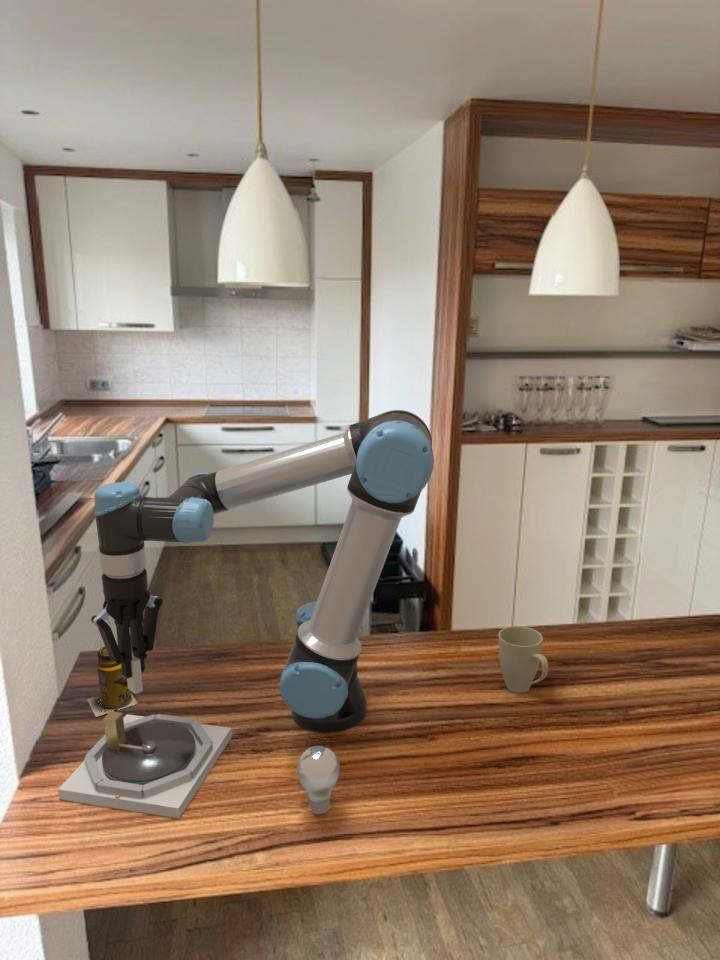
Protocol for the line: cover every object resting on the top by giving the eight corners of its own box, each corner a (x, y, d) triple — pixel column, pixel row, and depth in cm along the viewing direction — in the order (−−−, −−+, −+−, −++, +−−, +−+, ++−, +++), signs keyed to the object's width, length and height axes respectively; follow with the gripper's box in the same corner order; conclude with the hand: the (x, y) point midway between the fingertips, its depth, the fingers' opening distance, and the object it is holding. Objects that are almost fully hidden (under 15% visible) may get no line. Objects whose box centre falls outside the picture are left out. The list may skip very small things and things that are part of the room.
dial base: (232, 736, 137) (230, 721, 136) (179, 818, 116) (177, 800, 115) (127, 723, 141) (126, 707, 140) (59, 799, 121) (56, 781, 120)
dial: (210, 733, 134) (207, 700, 132) (169, 791, 119) (166, 754, 117) (132, 723, 137) (128, 690, 135) (84, 778, 122) (79, 742, 120)
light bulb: (298, 799, 120) (295, 737, 117) (340, 796, 120) (338, 734, 117) (298, 829, 113) (295, 765, 110) (342, 826, 114) (340, 762, 111)
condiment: (138, 704, 148) (132, 652, 145) (96, 717, 143) (89, 664, 140) (127, 688, 154) (122, 637, 150) (87, 701, 149) (80, 649, 146)
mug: (491, 696, 149) (493, 644, 146) (501, 672, 158) (503, 623, 154) (545, 706, 145) (548, 653, 142) (551, 682, 154) (555, 631, 150)
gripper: (145, 555, 132) (155, 668, 138) (78, 575, 123) (91, 696, 129) (168, 565, 127) (177, 683, 134) (99, 588, 118) (113, 713, 124)
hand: (135, 689), depth 131 cm, fingers closed
